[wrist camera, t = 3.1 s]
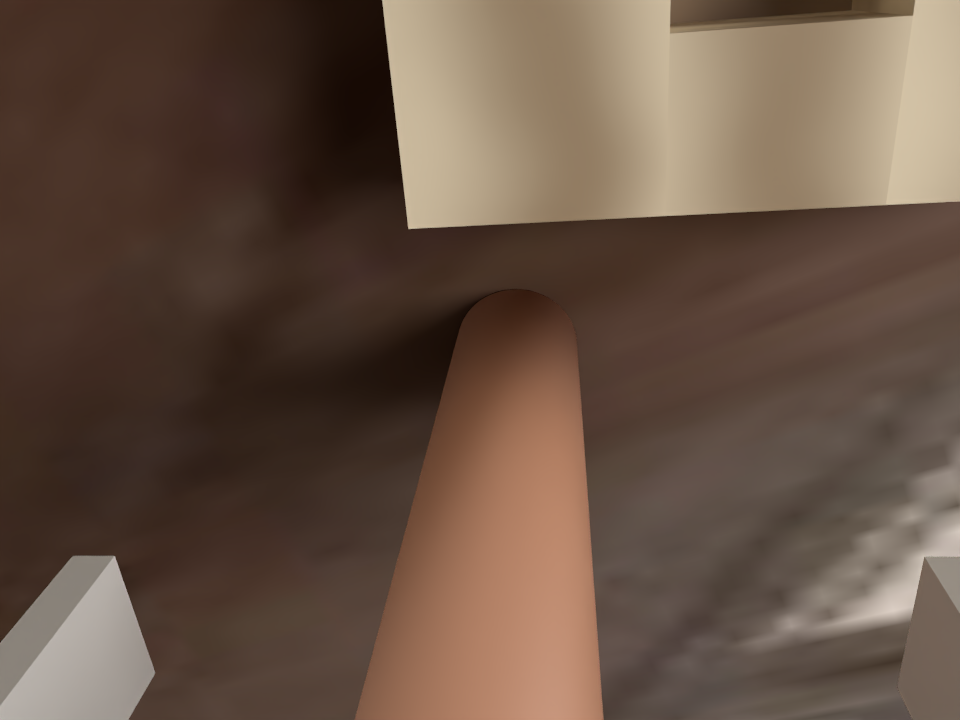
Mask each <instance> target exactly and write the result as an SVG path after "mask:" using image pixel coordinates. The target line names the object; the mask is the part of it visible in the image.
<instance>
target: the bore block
mask: <svg viewBox="0 0 960 720" xmlns="http://www.w3.org/2000/svg"><path fill="white" fill-rule="evenodd" d="M382 3H383V12H384V20H385V29H386V38H387V47H388V55H389V64H390V73H391V81H392V90H393V99H394V108H395V116H396V125H397V134H398V142H399V151H400V160H401V169H402V177H403V186H404V195H405V203H406V212H407V221H408V229H416V228H436V227H456V226H476V225H496V224H516V223H536V222H556V221H576V220H596V219H616V218H636V217H655V216H675V215H695V214H715V213H735V212H755V211H775V210H795V209H815V208H835V207H855V206H875V205H895V204H915V203H935V202H955V201H960V0H382Z"/></svg>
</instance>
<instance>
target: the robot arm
mask: <svg viewBox="0 0 960 720" xmlns="http://www.w3.org/2000/svg"><path fill="white" fill-rule="evenodd" d="M154 674H155V671H154V668H153V665H152V662H151V659H150V657H149V654H148V651H147V648H146V645H145V642H144V639H143V636H142V633H141V631H140V628H139V625H138V622H137V619H136V616H135V613H134V610H133V607H132V605H131V602H130V599H129V596H128V593H127V590H126V587H125V584H124V581H123V579H122V576H121V573H120V570H119V567H118V564H117V561H116V558H115V556H72V558H71V559H70V560H69V561H68V562H67V564H66V565H65V566H64V567H63V568H62V570H61V571H60V572H59V573H58V574H57V576H56V577H55V578H54V579H53V580H52V582H51V583H50V584H49V585H48V586H47V588H46V589H45V590H44V591H43V592H42V594H41V595H40V596H39V597H38V598H37V600H36V601H35V602H34V603H33V604H32V605H31V607H30V608H29V609H28V610H27V611H26V613H25V614H24V615H23V616H22V617H21V619H20V620H19V621H18V622H17V623H16V625H15V626H14V627H13V628H12V629H11V631H10V632H9V633H8V634H7V635H6V637H5V638H4V639H3V640H2V641H1V643H0V720H128V719H129V717H130V716H131V714H132V712H133V711H134V709H135V707H136V705H137V704H138V702H139V700H140V698H141V697H142V695H143V693H144V692H145V690H146V688H147V686H148V685H149V683H150V681H151V679H152V678H153V676H154ZM897 688H898V691H899V693H900V695H901V697H902V699H903V701H904V703H905V705H906V708H907V710H908V712H909V714H910V716H911V718H912V720H960V557H924V562H923V566H922V571H921V576H920V581H919V585H918V590H917V595H916V599H915V604H914V609H913V614H912V618H911V623H910V628H909V632H908V637H907V642H906V647H905V651H904V656H903V661H902V666H901V670H900V675H899V680H898V684H897Z"/></svg>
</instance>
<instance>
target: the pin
mask: <svg viewBox="0 0 960 720" xmlns="http://www.w3.org/2000/svg"><path fill="white" fill-rule="evenodd" d="M355 720H603V707H602V693H601V679H600V665H599V650H598V636H597V622H596V608H595V594H594V579H593V565H592V551H591V537H590V522H589V508H588V494H587V480H586V465H585V451H584V437H583V423H582V408H581V394H580V380H579V366H578V352H577V339H576V333H575V329H574V327H573V324H572V322H571V320H570V318H569V317H568V315H567V314H566V313H565V311H564V310H563V309H562V308H561V307H560V306H559V305H558V304H557V303H555V302H554V301H553V300H551V299H549V298H548V297H546V296H544V295H541V294H539V293H536V292H533V291H529V290H522V289H512V290H504V291H500V292H496V293H494V294H491V295H489V296H487V297H485V298H483V299H482V300H480V301H479V302H477V303H476V304H475V305H474V306H473V307H472V308H471V309H470V310H469V312H468V313H467V314H466V316H465V317H464V319H463V321H462V323H461V326H460V329H459V333H458V336H457V340H456V344H455V348H454V351H453V355H452V359H451V362H450V366H449V370H448V374H447V377H446V381H445V385H444V389H443V392H442V396H441V400H440V404H439V407H438V411H437V415H436V418H435V422H434V426H433V430H432V433H431V437H430V441H429V445H428V448H427V452H426V456H425V459H424V463H423V467H422V471H421V474H420V478H419V482H418V486H417V489H416V493H415V497H414V501H413V504H412V508H411V512H410V515H409V519H408V523H407V527H406V530H405V534H404V538H403V542H402V545H401V549H400V553H399V556H398V560H397V564H396V568H395V571H394V575H393V579H392V583H391V586H390V590H389V594H388V597H387V601H386V605H385V609H384V612H383V616H382V620H381V624H380V627H379V631H378V635H377V639H376V642H375V646H374V650H373V653H372V657H371V661H370V665H369V668H368V672H367V676H366V680H365V683H364V687H363V691H362V694H361V698H360V702H359V706H358V709H357V713H356V717H355Z"/></svg>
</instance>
